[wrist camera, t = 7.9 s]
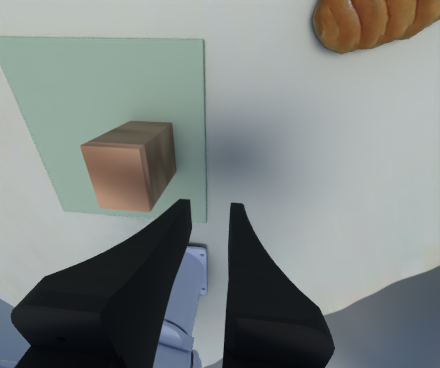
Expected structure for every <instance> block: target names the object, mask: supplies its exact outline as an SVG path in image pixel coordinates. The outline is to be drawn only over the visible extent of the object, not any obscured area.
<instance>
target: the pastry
mask: <svg viewBox="0 0 440 368" xmlns="http://www.w3.org/2000/svg"><path fill="white" fill-rule="evenodd" d="M438 20H440V0H319V1H318V3H317V5H316V8H315V10H314V14H313V20H312V21H313V25H314V30H315V33H316V35H317V37H318V38H319V39H320V41H321V43H322V44H323V45H324V47H326V48H328V49H330V50H333V51H335V52H337V53H339V54H344V53H347V52H352V51H355V50H359V49H372V48H375V47H377V46H380V45H382V44H384V43H388V42H391V41H394V40H404V39H409V38H411V37H412V36H414V35H416V34H417V33H418V32H420V31H422V30H423V29H424V28H425V27H428V26H430V25H431V24H432V23H434V22H436V21H438Z"/></svg>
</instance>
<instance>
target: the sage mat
mask: <svg viewBox="0 0 440 368" xmlns="http://www.w3.org/2000/svg"><path fill="white" fill-rule="evenodd" d="M0 65H1V67H2V70H3V72H4V74H5V77H6V79H7V81H8V84H9V86H10V88H11V90H12V93H13V95H14V97H15V100H16V102H17V104H18V107H19V109H20V111H21V114H22V116H23V118H24V120H25V123H26V125H27V127H28V130H29V132H30V134H31V137H32V139H33V141H34V144H35V146H36V148H37V150H38V153H39V155H40V157H41V160H42V162H43V164H44V167H45V169H46V171H47V174H48V176H49V178H50V180H51V183H52V185H53V187H54V190H55V192H56V194H57V197H58V199H59V201H60V204H61V206H62V208H63V210H64V211H65V212H77V213H89V214H101V215H113V216H125V217H137V218H149V219H156V218H158V217H159V216H160V215H161V214H162V213H164V212H165V211H166V210H167V209H168V208H169V207H171V206H172V205H173V204H174V203H175V202H176V201H177V200H179V199H190V203H191V219H192V222H197V223H206V221H207V203H206V140H205V76H204V40H203V39H125V38H42V37H0ZM129 121H147V122H168V123H172V126H173V137H174V148H175V159H176V171H177V172H176V173H175V175H174V176H173V178H172V179H171V181H170V182H169V184H168V186H167V187H166V189H165V190H164V192H163V193H162V195H161V196H160V198H159V200H158V201H157V203H156V204H155V206H154V207H153V209H152V210H151V212H141V211H129V210H117V209H104V208H100V207H99V204H98V201H97V198H96V195H95V192H94V189H93V186H92V182H91V179H90V176H89V173H88V170H87V167H86V164H85V161H84V158H83V154H82V151H81V148H80V145H82V144H84V143H86V142H88V141H90V140H92V139H94V138H96V137H98V136H100V135H102V134H104V133H106V132H108V131H110V130H113V129H115V128H117V127H119V126H121V125H123V124H125V123H127V122H129Z"/></svg>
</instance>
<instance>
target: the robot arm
mask: <svg viewBox="0 0 440 368" xmlns="http://www.w3.org/2000/svg"><path fill="white" fill-rule="evenodd" d="M191 230H192V219H191V203H190V199H179V200H177V201H176V202H175V203H174V204H173V205H172V206H171V207H169V208H168V209H167V210H166V211H165V212H164V213H162V214H161V215H160V216H159V217H158V218H156V219H155V220H154V221H153V222H151V223H150V224H149V225H147V226H146V227H145V228H143V229H142V230H141V231H139V232H138V233H136V234H135V235H133V236H132V237H130V238H128V239H127V240H125V241H123V242H122V243H120V244H118V245H116V246H114V247H112V248H111V249H109V250H107V251H105V252H103V253H101V254H99V255H97V256H95V257H93V258H90V259H88V260H86V261H84V262H81V263H79V264H77V265H74V266H72V267H69V268H66V269H64V270H61V271H58V272H56V273H53V274H51V275H48V276H45V277H44V278H43V279H42V280H41V281H40V282H39V283H38V284H37V285H36V286H35V287H34V288H33V289H32V290H31V291H30V292H29V293H28V294H27V295H26V296H25V298H24V299H23V300H22V301H21V302H20V303H19V304H18V305H17V306H16V307H15V308H14V309H13V311H12V313H11V320H12V323H13V324H14V326H15V327H16V328H17V330H18V331H19V332H20V333H21V334H22V336H23V337H24V338H25V339H26V340H27V341H28V343H29V344H30V345H31V347H30V348H29V349H28V350H27V352H26V353H25V355H24V356H23V357H22V358H21V360H20V361H19V362H18V363H17V362H10V361H4V360H0V368H202V364H201V360H200V358H199V354H198V352H197V351H196V350H192V347H193V342H194V337H191V336H192V331H193V326H194V321H195V316H196V311H197V306H198V301H199V296H200V295H206V294H207V256H206V249H205V248H203V247H192V246H188V243H189V239H190V235H191ZM228 274H229V281H228V293H227V304H226V320H225V337H224V352H223V366H222V368H325V367H326V365H327V363H328V362H329V360H330V358H331V357H332V355H333V353H334V350H335V347H334V343H333V339H332V336H331V333H330V330H329V328H328V326H327V323H326V321H325V319H324V317H323V315H322V312H321V310H320V308H319V307H318V306H317V305H316V304H315V303H313V302H312V301H311V300H310V299H309V298H308V297H307V296H306V295H305V294H303V293H302V292H301V291H300V290H299V289H298V288H297V287H296V286H295V285H294V284H293V283H292V282H291V281H290V280H289V279H288V277H287V276H286V275H285V274H284V273H283V272H282V271H281V269H280V268H279V267H278V266H277V265H276V264H275V262H274V261H273V260H272V258H271V257H270V256H269V254H268V253H267V251H266V250H265V249H264V247H263V246H262V244H261V242H260V241H259V239H258V237H257V236H256V234H255V232H254V230H253V228H252V226H251V224H250V222H249V219H248V217H247V214H246V211H245V208H244V205H243V204H242V203H231V207H230V221H229V240H228Z"/></svg>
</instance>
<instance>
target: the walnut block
mask: <svg viewBox="0 0 440 368" xmlns="http://www.w3.org/2000/svg"><path fill="white" fill-rule="evenodd" d="M80 148H81V151H82V154H83V158H84V161H85V164H86V167H87V170H88V173H89V176H90V179H91V182H92V186H93V189H94V192H95V195H96V198H97V201H98V204H99V207H100V208H104V209H117V210H129V211H141V212H151V210H152V209H153V207H154V206H155V204H156V203H157V201H158V200H159V198H160V196H161V195H162V193H163V192H164V190H165V189H166V187H167V186H168V184H169V182H170V181H171V179H172V178H173V176H174V175H175V173H176V172H177V171H176V159H175V148H174V137H173V126H172V123H168V122H147V121H129V122H127V123H125V124H123V125H121V126H119V127H117V128H115V129H113V130H110V131H108V132H106V133H104V134H102V135H100V136H98V137H96V138H94V139H92V140H90V141H88V142H86V143H84V144H82V145H80Z"/></svg>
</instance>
